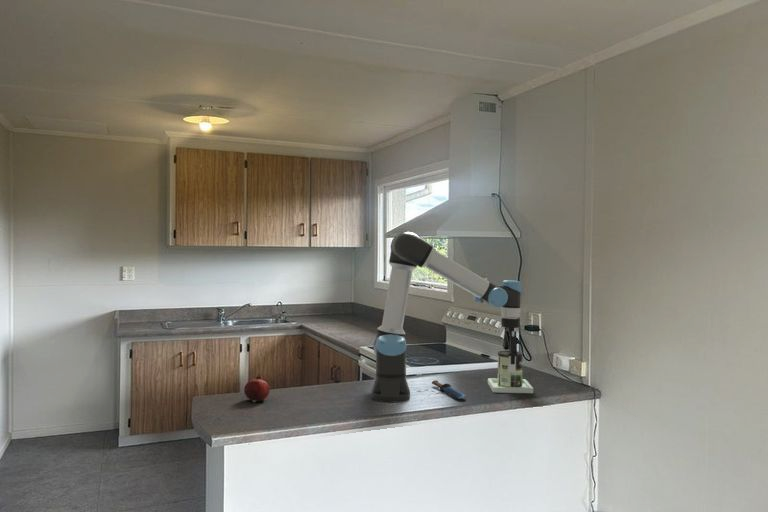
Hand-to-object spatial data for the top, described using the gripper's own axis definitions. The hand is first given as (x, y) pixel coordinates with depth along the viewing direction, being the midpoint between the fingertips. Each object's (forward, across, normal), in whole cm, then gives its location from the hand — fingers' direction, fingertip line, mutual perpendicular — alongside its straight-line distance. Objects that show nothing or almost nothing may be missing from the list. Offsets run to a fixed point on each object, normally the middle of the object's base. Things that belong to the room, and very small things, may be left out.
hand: (509, 368), depth 240 cm
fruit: (+10, -28, +98) cm, 103 cm away
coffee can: (+8, 0, 0) cm, 8 cm away
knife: (+9, -11, +26) cm, 29 cm away
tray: (+8, 0, 0) cm, 8 cm away
